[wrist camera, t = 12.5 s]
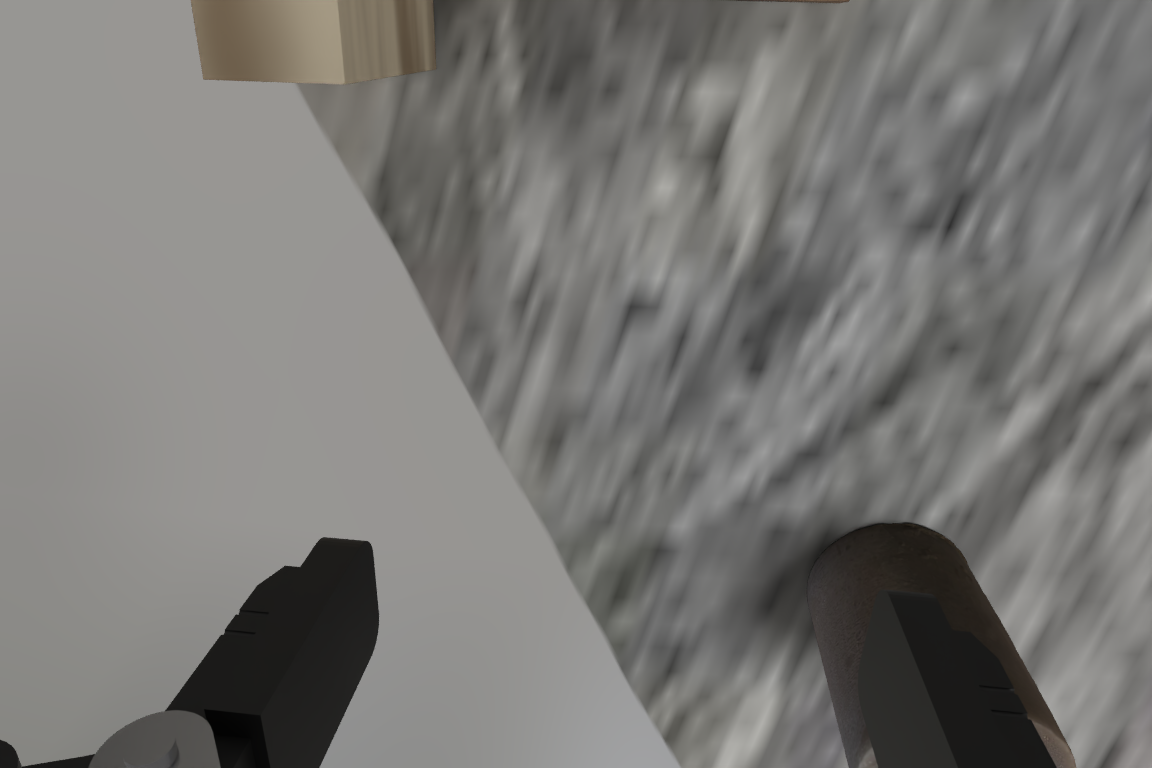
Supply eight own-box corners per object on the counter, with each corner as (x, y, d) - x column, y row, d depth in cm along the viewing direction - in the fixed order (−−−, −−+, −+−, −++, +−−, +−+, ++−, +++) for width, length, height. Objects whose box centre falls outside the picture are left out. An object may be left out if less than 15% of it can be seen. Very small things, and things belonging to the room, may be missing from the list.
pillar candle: (926, 495, 44) (1040, 699, 31) (998, 611, 47) (1130, 846, 34) (775, 565, 48) (818, 778, 34) (850, 670, 50) (917, 907, 37)
